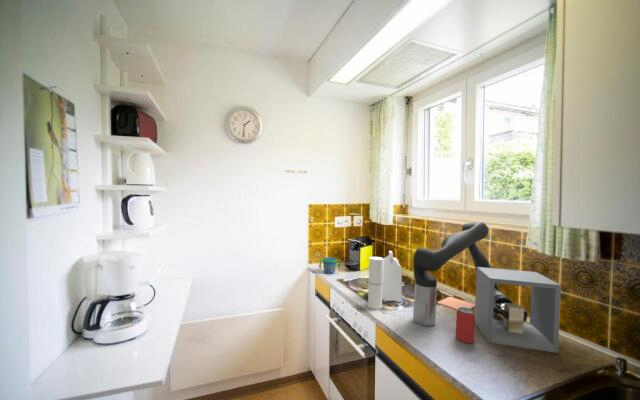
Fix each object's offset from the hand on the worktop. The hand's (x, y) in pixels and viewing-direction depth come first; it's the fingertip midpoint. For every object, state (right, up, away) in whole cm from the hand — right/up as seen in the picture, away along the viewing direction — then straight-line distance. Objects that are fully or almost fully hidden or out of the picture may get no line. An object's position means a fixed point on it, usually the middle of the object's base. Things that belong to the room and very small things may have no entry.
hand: (516, 318), depth 107 cm
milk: (-41, -7, +42) cm, 59 cm away
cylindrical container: (-51, -7, +29) cm, 59 cm away
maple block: (0, -6, +3) cm, 7 cm away
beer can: (-21, -9, -1) cm, 23 cm away
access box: (0, -9, +3) cm, 9 cm away
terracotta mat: (-7, -8, +34) cm, 36 cm away
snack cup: (-73, -6, +86) cm, 113 cm away
